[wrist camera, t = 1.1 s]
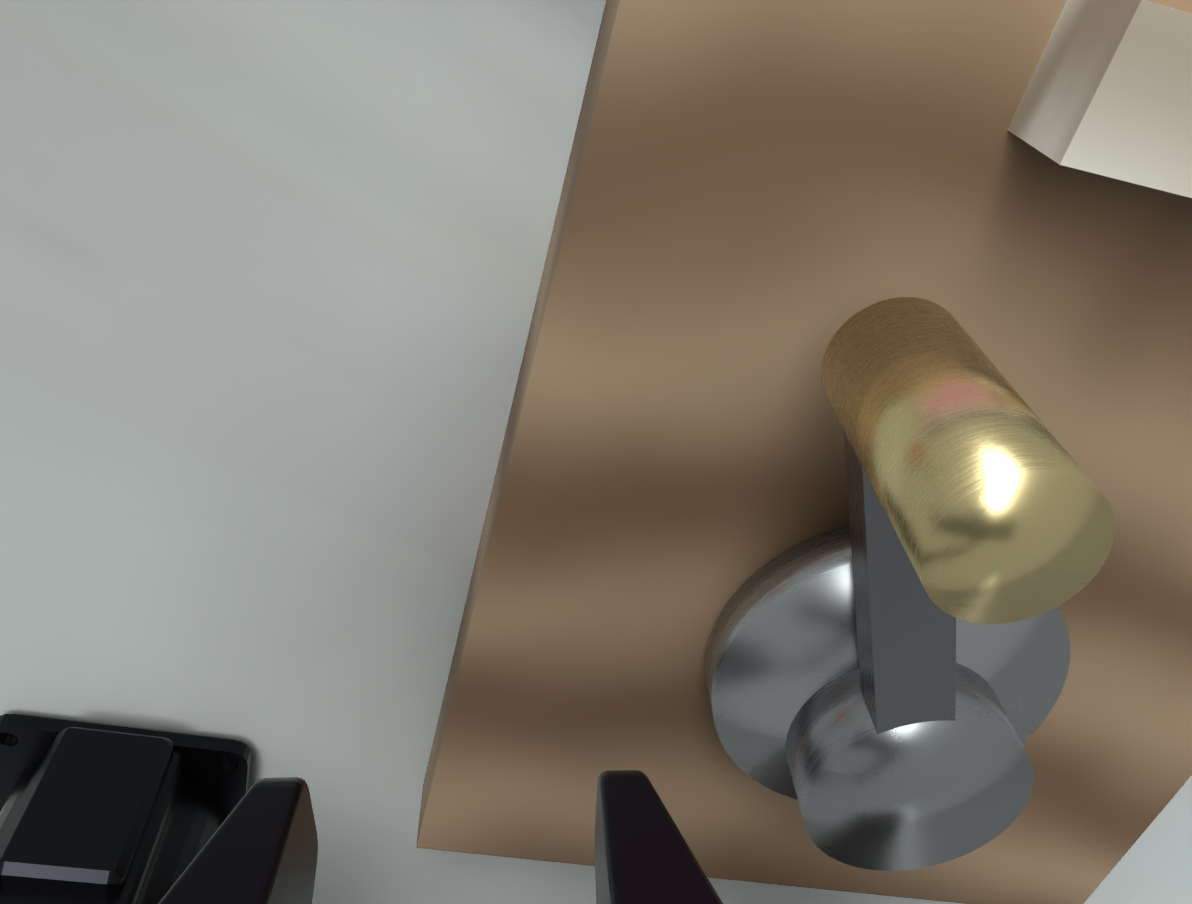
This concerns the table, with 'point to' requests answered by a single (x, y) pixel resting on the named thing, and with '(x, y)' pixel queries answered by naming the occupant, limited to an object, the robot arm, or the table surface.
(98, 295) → the table surface
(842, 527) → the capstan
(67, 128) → the table surface
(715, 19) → the stand
